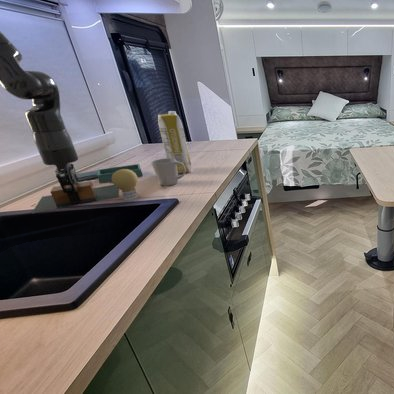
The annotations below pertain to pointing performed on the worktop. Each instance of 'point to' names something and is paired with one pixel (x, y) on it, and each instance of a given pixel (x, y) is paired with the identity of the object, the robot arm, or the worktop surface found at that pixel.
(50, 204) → the slate board
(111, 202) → the worktop surface
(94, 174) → the smartphone
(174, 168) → the cup
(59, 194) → the eraser
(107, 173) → the tray
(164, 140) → the juice carton
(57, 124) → the robot arm
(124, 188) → the light bulb
